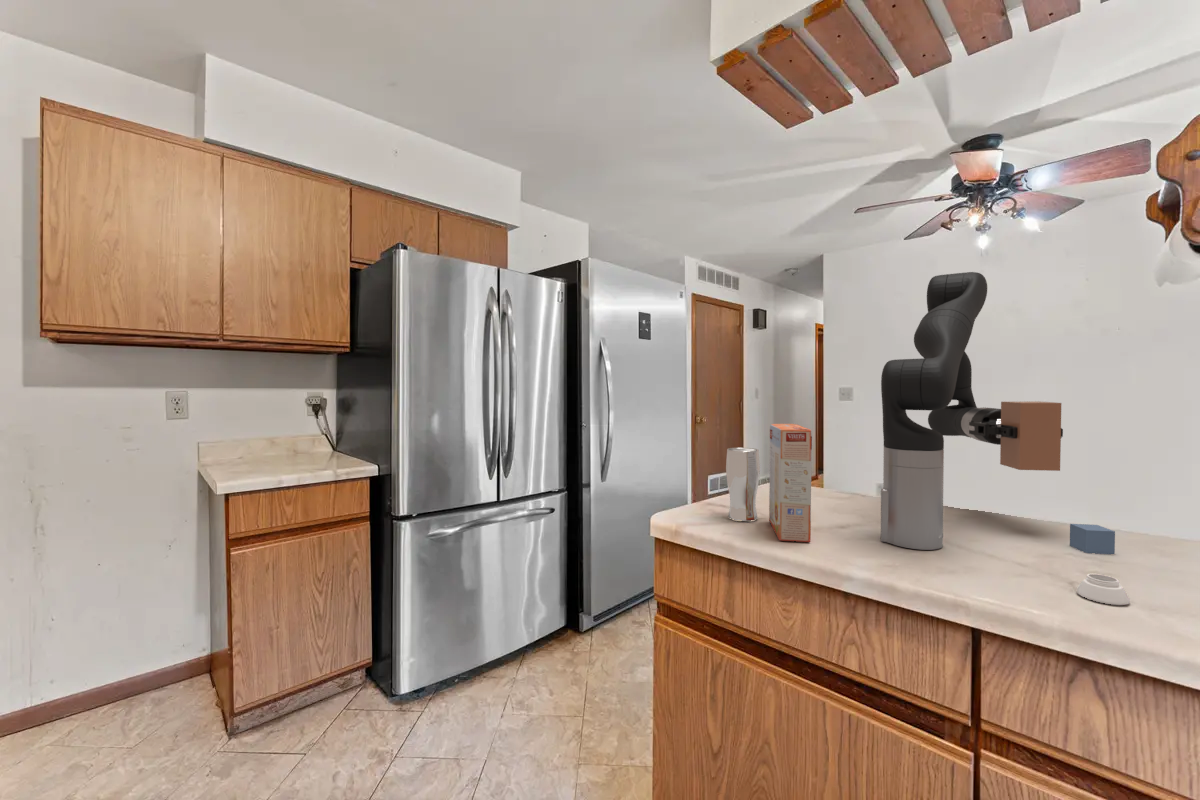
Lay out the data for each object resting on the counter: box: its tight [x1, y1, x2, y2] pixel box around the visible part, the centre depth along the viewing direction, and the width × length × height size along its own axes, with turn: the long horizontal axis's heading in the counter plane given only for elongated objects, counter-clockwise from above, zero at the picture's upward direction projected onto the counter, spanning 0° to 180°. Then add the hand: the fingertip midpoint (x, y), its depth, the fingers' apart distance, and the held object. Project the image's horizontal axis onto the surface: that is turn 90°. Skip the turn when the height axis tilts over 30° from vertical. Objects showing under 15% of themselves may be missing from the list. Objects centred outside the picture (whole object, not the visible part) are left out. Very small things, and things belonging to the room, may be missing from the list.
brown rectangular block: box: [999, 400, 1062, 472], centre depth 95 cm, size 6×6×12 cm
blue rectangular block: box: [1069, 523, 1116, 555], centre depth 86 cm, size 4×4×4 cm
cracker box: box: [768, 423, 813, 543], centre depth 98 cm, size 14×6×21 cm, turn 168°
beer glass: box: [725, 447, 761, 521], centre depth 108 cm, size 7×7×15 cm
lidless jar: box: [1076, 573, 1131, 606], centre depth 67 cm, size 5×3×5 cm
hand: (1037, 433), depth 93 cm, fingers closed on brown rectangular block, 6 cm apart
